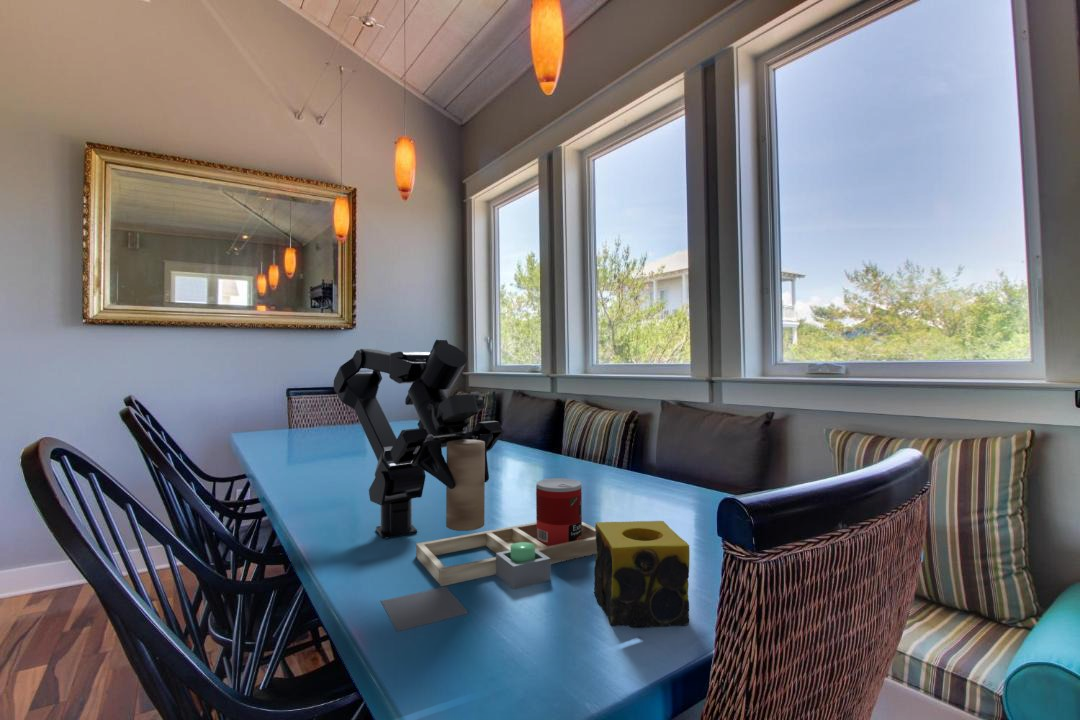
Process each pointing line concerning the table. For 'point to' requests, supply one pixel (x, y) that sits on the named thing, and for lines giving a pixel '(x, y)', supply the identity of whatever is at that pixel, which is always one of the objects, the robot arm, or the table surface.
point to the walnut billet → (466, 485)
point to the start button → (522, 552)
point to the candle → (641, 574)
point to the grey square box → (523, 569)
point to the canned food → (558, 511)
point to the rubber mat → (423, 608)
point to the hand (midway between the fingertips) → (470, 484)
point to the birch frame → (497, 551)
